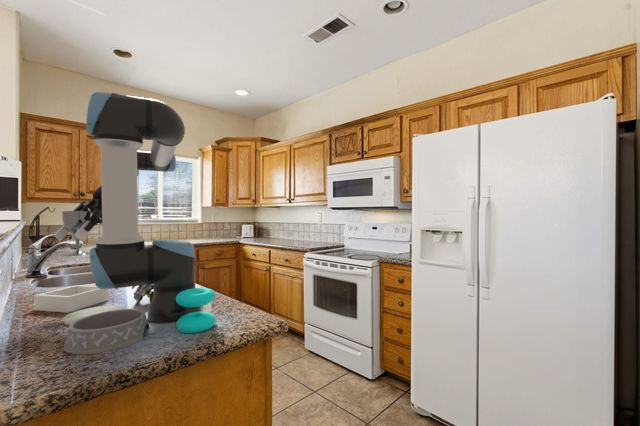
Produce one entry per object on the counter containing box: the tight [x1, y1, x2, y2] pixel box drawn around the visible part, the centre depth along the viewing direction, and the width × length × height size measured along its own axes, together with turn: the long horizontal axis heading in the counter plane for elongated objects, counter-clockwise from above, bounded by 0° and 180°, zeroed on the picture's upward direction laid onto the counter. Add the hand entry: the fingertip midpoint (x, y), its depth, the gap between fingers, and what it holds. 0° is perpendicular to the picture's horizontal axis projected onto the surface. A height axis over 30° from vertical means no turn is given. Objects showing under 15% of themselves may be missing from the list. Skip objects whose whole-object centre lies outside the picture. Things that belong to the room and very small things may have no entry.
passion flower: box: [131, 284, 154, 306], centre depth 110 cm, size 11×11×12 cm
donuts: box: [175, 287, 216, 334], centre depth 85 cm, size 10×10×10 cm
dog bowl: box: [63, 308, 151, 355], centre depth 79 cm, size 17×18×5 cm
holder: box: [33, 284, 109, 314], centre depth 110 cm, size 14×14×5 cm
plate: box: [62, 305, 125, 326], centre depth 96 cm, size 15×15×1 cm
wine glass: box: [61, 210, 92, 257], centre depth 108 cm, size 8×8×15 cm
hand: (67, 237), depth 104 cm, fingers closed on wine glass, 8 cm apart
